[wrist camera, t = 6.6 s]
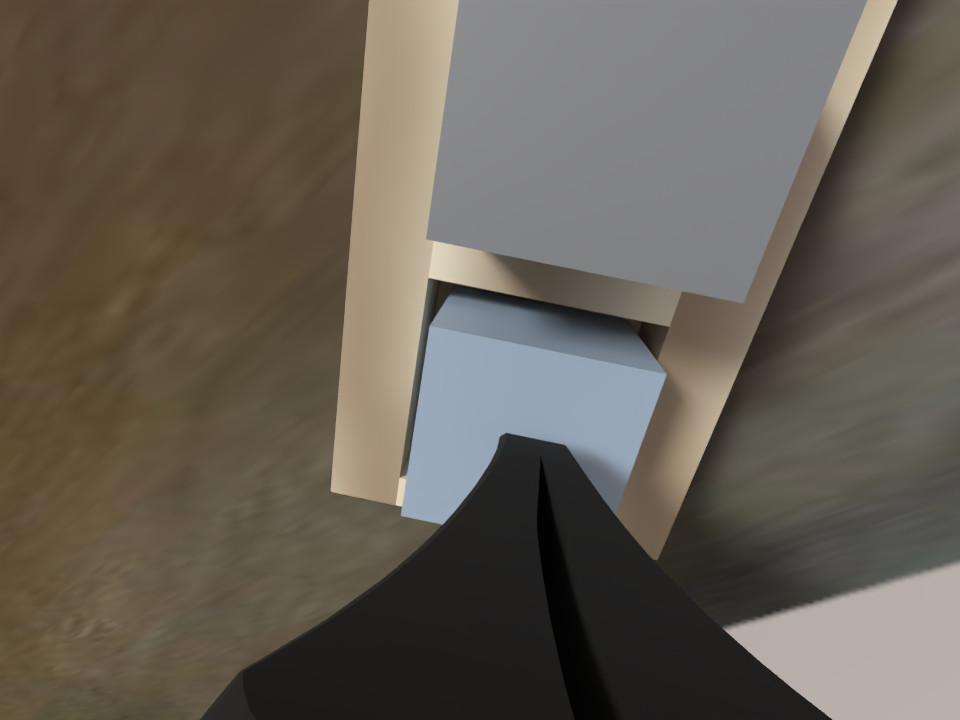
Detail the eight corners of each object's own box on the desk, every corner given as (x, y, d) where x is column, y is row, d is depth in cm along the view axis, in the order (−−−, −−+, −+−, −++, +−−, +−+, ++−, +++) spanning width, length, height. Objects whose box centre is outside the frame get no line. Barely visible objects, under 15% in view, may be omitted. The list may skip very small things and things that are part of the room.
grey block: (753, 6, 9) (915, -116, 5) (668, 261, 11) (743, 303, 7) (500, -43, 9) (486, -196, 5) (459, 219, 11) (425, 239, 7)
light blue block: (627, 320, 13) (666, 374, 10) (581, 464, 15) (599, 557, 11) (455, 285, 13) (429, 325, 10) (431, 433, 15) (400, 515, 12)
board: (1033, -510, 8) (1229, -776, 6) (639, 507, 16) (657, 560, 14) (463, -612, 8) (440, -910, 6) (357, 448, 16) (330, 491, 14)
